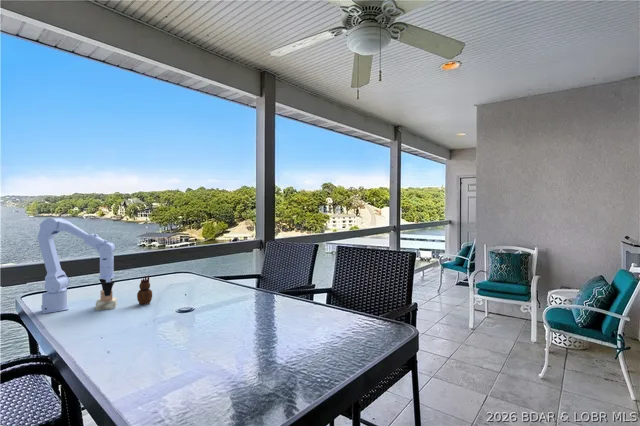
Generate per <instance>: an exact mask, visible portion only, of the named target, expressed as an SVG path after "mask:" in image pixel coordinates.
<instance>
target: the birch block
mask: <svg viewBox="0 0 640 426" xmlns="http://www.w3.org/2000/svg"><path fill="white" fill-rule="evenodd" d="M117 306H118V296H112V300H109V301H102V302H101V300H100V298H97V300H96V301H95V311H104V310H113V309H114V310H115V309H116V308H117Z"/></svg>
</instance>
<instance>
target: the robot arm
mask: <svg viewBox="0 0 640 426" xmlns="http://www.w3.org/2000/svg"><path fill="white" fill-rule="evenodd" d="M61 232H67V233H69V234H71V235H74V236H76V238H79V239H81V240H83V243H84V244H85V245H87V246H89V247H91V248H92V249H94V250H95V251H97V252H98V254H99V279H98V281H99V282H100V284H101V285H100V286H101V288H102V290H104V294H105V296H110V294H111V290H112V291H113V286H114V285H115V283H116V280H115V281H114V280H113V278H114V277H117V274H115V273H114V270H115V269H114V267H115V266H114V265H115V264H114V263H115V262H114V259H115V257H114V255H115V254H114V252H115V250H116V244H114V243H113V242H112V241H108V240H107V239H104V238H101V237H100V236H99V235H98V234H97V233H95V234H94V233H87V232H86V231H85V230H83V229H81V228H79V227H78V226H77V225H75V224H73V223H72V222H71V221H69V220H67V219H65V218H64V217H54V218H52V217H51V218H46V219H44V220H43V221H41V223H39V229H38V234H37V241H38V244H39V248H40V252H41V255H42V259H43V262H44V267H45V271H46V276H45V277H44V280H45V282H44V289H45V290H46V292H43V293H42V294H41V295H42V297H41V301H42V302H41V303H42V304H41V308H40V309H41V310H42V312H41V313H42V314H47V313H48V314H50V313H55V312H56V313H57V312H62V311H63V312H64V311H68V310H69V305H68V286H69V285H70V282H71V281H70V278H69V277H68V276H67V275H66V272H65V271H64V270H62V267H61V263H60V262H61V261H60V260H59V257H58V252H57V248H56V245H55V240H54V238H55V237H56V236H57V234H58V233H61ZM112 280H113V281H112Z"/></svg>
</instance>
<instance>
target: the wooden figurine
mask: <svg viewBox="0 0 640 426" xmlns="http://www.w3.org/2000/svg"><path fill="white" fill-rule="evenodd" d="M138 287H139V290H138V291H137V294H136V298H137V302H138V304H139V305H142V306H143V305H145V306H146V305H150V303H151V302H152V299H153V290H151V289H150V288H151V283H150V274H147V275H145V276H144V277H143V278H142V279H141V280H140V283H139V286H138Z"/></svg>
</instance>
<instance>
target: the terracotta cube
mask: <svg viewBox="0 0 640 426" xmlns="http://www.w3.org/2000/svg"><path fill="white" fill-rule="evenodd" d="M112 297H113V289H112V290H111V294H110V296H105V294H104V290H103V289H102V290H100V297H99V299H100V300H101V302H102V301H109V300H112Z"/></svg>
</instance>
